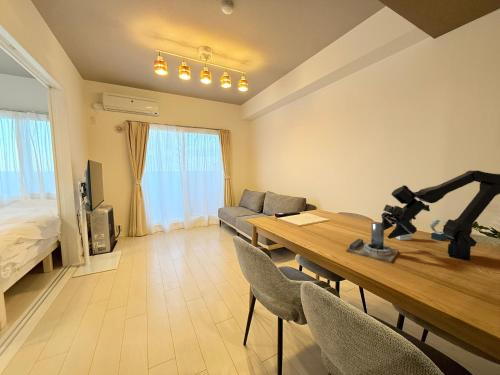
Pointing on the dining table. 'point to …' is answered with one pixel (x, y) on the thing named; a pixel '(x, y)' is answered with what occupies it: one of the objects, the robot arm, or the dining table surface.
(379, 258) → the jig
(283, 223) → the dining table surface
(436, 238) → the watch
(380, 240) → the dark grey cylinder
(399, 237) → the skincare box
